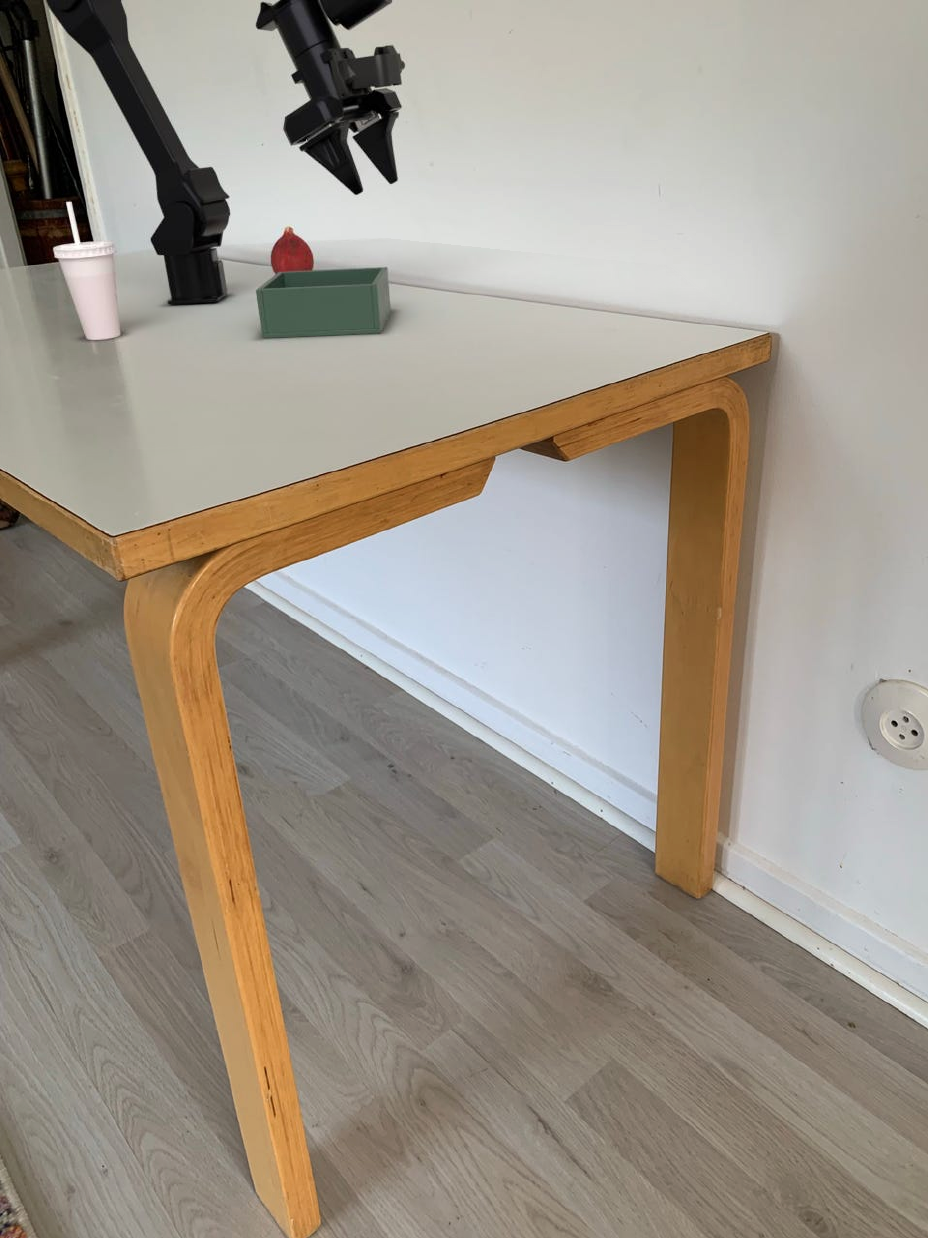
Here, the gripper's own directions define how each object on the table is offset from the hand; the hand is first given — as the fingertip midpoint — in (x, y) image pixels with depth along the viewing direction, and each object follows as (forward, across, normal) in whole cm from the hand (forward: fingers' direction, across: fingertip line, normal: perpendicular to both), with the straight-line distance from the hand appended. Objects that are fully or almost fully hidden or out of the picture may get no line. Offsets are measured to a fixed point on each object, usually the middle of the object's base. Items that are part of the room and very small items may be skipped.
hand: (377, 187), depth 114 cm
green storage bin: (+11, -15, +5) cm, 20 cm away
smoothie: (+2, -26, +26) cm, 37 cm away
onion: (+6, +6, +21) cm, 23 cm away
